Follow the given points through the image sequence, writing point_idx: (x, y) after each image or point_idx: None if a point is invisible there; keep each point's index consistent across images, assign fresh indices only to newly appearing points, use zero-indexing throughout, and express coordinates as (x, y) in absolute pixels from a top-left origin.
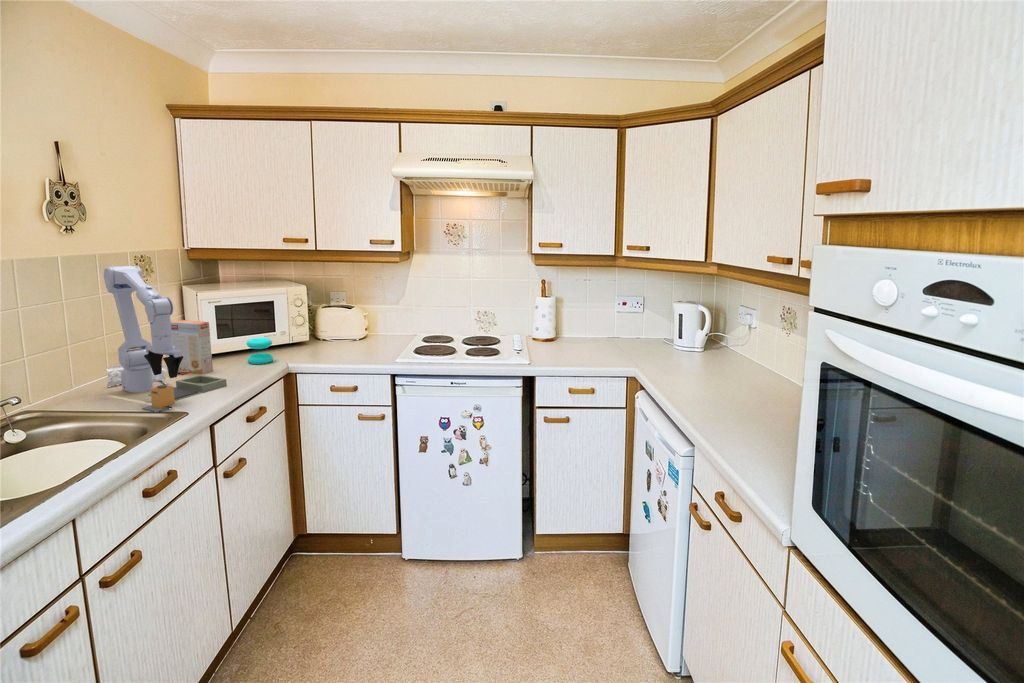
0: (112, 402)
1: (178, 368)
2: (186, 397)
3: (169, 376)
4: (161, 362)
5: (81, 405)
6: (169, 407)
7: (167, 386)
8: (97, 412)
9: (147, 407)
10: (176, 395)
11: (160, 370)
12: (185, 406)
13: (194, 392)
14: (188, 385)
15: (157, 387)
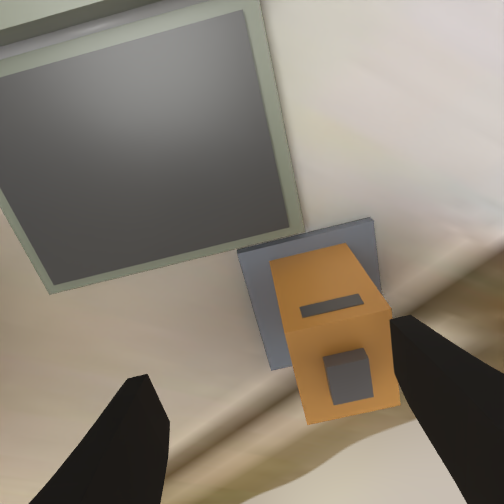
0: (31, 413)
1: (498, 372)
2: (286, 141)
3: (404, 389)
4: (87, 493)
5: (4, 492)
6: (378, 285)
7: (348, 336)
8: (168, 477)
9: (284, 354)
10: (228, 191)
11: (138, 409)
12: (406, 203)
13: (246, 51)
14: (62, 18)
15: (335, 397)
